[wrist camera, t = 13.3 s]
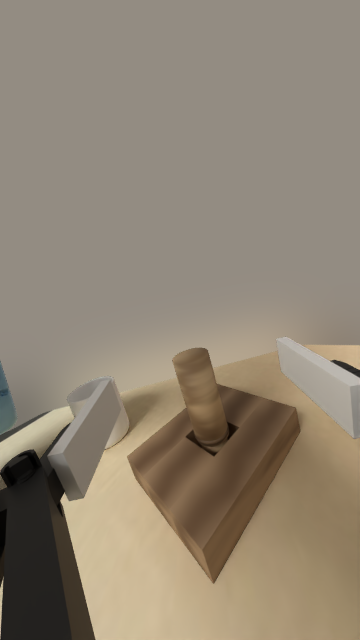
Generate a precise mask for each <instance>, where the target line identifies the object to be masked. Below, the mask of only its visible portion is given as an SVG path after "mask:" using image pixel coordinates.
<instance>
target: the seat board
mask: <svg viewBox="0 0 360 640" xmlns="http://www.w3.org/2000/svg"><path fill="white" fill-rule="evenodd" d="M217 387H218V391H219V395H220V398H221V402H222V406H223V410H224V414H225V417H226V421H227V424H228V427H229V435H228V437H227V439H228V441H227V443H226V444H225V445H224V446H223V447H222V448H221V449H220V451H219V452H218V453H217V454H216V455H215V456H212V455H211V454H209V453H208V452H206V451H205V450H203V449H202V445H201V444H199V443H198V441H197V440H196V438H195V435H194V430H193V427H192V424H191V420H190V417H189V414H188V411H187V408H185V409H184V410H183V411H182V412H181V413H179V414H178V415H177V416H176V417H175V418H173V419H172V420H171V421H170V422H168V423H167V424H166V425H165V426H164V427H162V428H161V429H160V430H159V431H158V432H156V433H155V434H154V435H153V436H151V437H150V438H149V439H148V440H147V441H145V442H144V443H143V444H142V445H141V446H139V447H138V448H137V449H136V450H134V451H133V452H132V453H131V454H130V455H128V456H127V458H128V460H129V463H130V466H131V468H132V471H133V473H134V476H135V478H136V480H137V481H138V483H139V484H140V485H141V487H142V488H143V489H144V491H145V492H146V493H147V495H148V496H149V497H150V499H151V500H152V502H153V503H154V504H155V506H156V507H157V508H158V510H159V511H160V512H161V514H162V515H163V516H164V518H165V519H166V520H167V522H168V523H169V524H170V526H171V527H172V528H173V530H174V531H175V532H176V534H177V535H178V536H179V538H180V539H181V540H182V542H183V543H184V545H185V546H186V547H187V549H188V550H189V551H190V553H191V554H192V555H193V557H194V558H195V559H196V561H197V562H198V563H199V565H200V566H201V567H202V569H203V570H204V571H205V573H206V574H207V575H208V577H209V578H210V579H211V581H212V582H213V584H214V582H215V580H216V578H217V577H218V575H219V573H220V571H221V570H222V568H223V566H224V564H225V563H226V561H227V559H228V557H229V556H230V554H231V552H232V550H233V549H234V547H235V545H236V543H237V542H238V540H239V538H240V536H241V534H242V533H243V531H244V529H245V527H246V526H247V524H248V522H249V520H250V519H251V517H252V515H253V513H254V512H255V510H256V508H257V506H258V505H259V503H260V501H261V499H262V498H263V496H264V494H265V492H266V491H267V489H268V487H269V485H270V484H271V482H272V480H273V478H274V476H275V475H276V473H277V471H278V469H279V468H280V466H281V464H282V462H283V461H284V459H285V457H286V455H287V454H288V452H289V450H290V448H291V447H292V445H293V443H294V441H295V440H296V438H297V436H298V434H299V433H300V428H299V422H298V417H297V411H296V408H295V407H291V406H288V405H285V404H282V403H278V402H275V401H272V400H268V399H265V398H262V397H258V396H255V395H252V394H248V393H245V392H242V391H238V390H235V389H232V388H228V387H225V386H222V385H219V384H217Z"/></svg>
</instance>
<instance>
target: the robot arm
mask: <svg viewBox="0 0 360 640" xmlns="http://www.w3.org/2000/svg"><path fill="white" fill-rule="evenodd" d="M276 343H277V349H278V356H279V362H280V368H281V372H282V373H283V374H284V375H285V376H287V377H288V378H289V379H290V380H291V381H292V382H293V383H294V384H295V385H296V386H297V387H298V388H300V389H301V390H302V391H303V392H304V393H305V394H306V395H307V396H308V397H309V398H310V399H311V400H312V401H314V402H315V403H316V404H317V405H318V406H319V407H320V408H321V409H322V410H323V411H324V412H325V413H327V414H328V415H329V416H330V417H331V418H332V419H333V420H334V421H335V422H336V423H337V424H338V425H339V426H341V427H342V428H343V429H344V430H345V431H346V432H347V433H348V434H349V435H350V436H351V437H352V438H354V439H356V438H360V370H358V369H356V368H354V367H352V366H351V365H349V364H347V363H344V362H341V361H337V360H332V361H329V360H327V359H325V358H323V357H322V356H320V355H318V354H316V353H314V352H313V351H311V350H309V349H307V348H306V347H304V346H302V345H300V344H298V343H297V342H295V341H293V340H291V339H289V338H288V337H282V338H278V339H276ZM120 411H121V407H120V404H119V401H118V399H117V396H116V393H115V390H114V388H113V385H112V382H111V380H106V381H102V382H100V384H99V385H98V387H97V388H96V389H95V391H94V392H93V394H92V395H91V396H90V398H89V399H88V400H87V402H86V403H85V405H84V406H83V407H82V409H81V410H80V412H79V413H78V414H77V416H76V417H75V418H74V420H73V421H72V423H69V424H68V425H67V426H66V427H65V428H64V429H62V430H61V432H60V433H59V434H58V436H57V437H56V439H55V440H54V441H53V442H52V445H50V446H49V448H48V449H47V450H46V452H45V453H44V454H43V456H42V457H41V458H40V460H39V458H38V456H37V454H36V452H35V451H34V450H27V451H24V452H22V453H20V454H18V455H17V456H15V457H14V458H12V459H11V460H10V461H9V462H8V463H7V464H6V465H5V466H4V467H3V468H2V470H1V472H0V475H1V476H2V478H3V480H4V482H5V484H6V485H7V488H5V489H3V490H0V587H1V583H2V580H3V599H2V619H1V639H0V640H95V636H94V632H93V628H92V624H91V620H90V616H89V612H88V608H87V603H86V599H85V595H84V591H83V587H82V583H81V579H80V575H79V571H78V567H77V563H76V559H75V554H74V550H73V546H72V542H71V538H70V534H69V530H68V526H67V522H66V518H65V514H64V510H63V506H62V504H61V502H60V500H61V498H62V496H63V494H64V492H65V494H66V496H67V498H68V500H69V501H72V500H77V499H81V498H84V496H85V494H86V492H87V489H88V487H89V485H90V482H91V480H92V478H93V475H94V473H95V470H96V468H97V466H98V463H99V461H100V459H101V456H102V454H103V451H104V449H105V447H106V444H107V442H108V440H109V437H110V435H111V433H112V430H113V428H114V425H115V423H116V421H117V418H118V416H119V414H120ZM16 421H17V413H16V409H15V406H14V403H13V399H12V396H11V393H10V390H9V386H8V384H7V380H6V377H5V374H4V371H3V368H2V365H1V362H0V435H1V434H2V433H4V432H6V431H7V430H9V429H10V428H12V427H13V426H14V425H15V423H16ZM3 576H4V579H3Z"/></svg>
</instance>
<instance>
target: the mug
mask: <svg viewBox="0 0 360 640" xmlns="http://www.w3.org/2000/svg"><path fill="white" fill-rule="evenodd" d="M106 380H111V382H112V385H113V388H114V390H115V393H116V396H117V399H118V401H119V404H120V407H121V411H120V414H119V416H118V418H117V421H116V423H115V425H114V428H113V430H112V433H111V435H110V437H109V440H108V442H107V444H106V447H105V449H108V448H110V447H112V446H113V445H115V444H116V443H118V442H119V441H120V440H121V439H122V438H123V437H124V436H125V434H126V433H127V431H128V429H129V419H128V416H127V413H126V411H125V408H124V405H123V403H122V400H121V397H120V394H119V392H118V389H117V386H116V384H115V381H114V379H113V377H111V376H104V377H99V378H96V379H93V380H91V381H88V382H86V383H85V384H83V385H81V386H79V387H78V388H76V389H75V390H74V391H72V392H71V393H70V394H69V396H68V398H67V401H68V403H69V406H70V408H71V411H72V413H73V415H74V417H76V416H77V414H78V413H79V412H80V410H81V409H82V407H83V406H84V405H85V403H86V402H87V400H88V399H89V398H90V396H91V395H92V394H93V392H94V391H95V389H96V388H97V387H98V385H99V384H100V382H102V381H106ZM105 449H104V450H105Z"/></svg>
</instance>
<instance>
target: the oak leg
mask: <svg viewBox="0 0 360 640" xmlns="http://www.w3.org/2000/svg"><path fill="white" fill-rule="evenodd" d="M172 361H173V365H174V368H175V371H176V374H177V378H178V381H179V384H180V388H181V391H182V394H183V397H184V401H185V404H186V407H187V411H188V414H189V417H190V420H191V424H192V427H193V430H194V435H195V438H196V440H197V441H198V443H199V444H201V445H202V448H203V450H205V451H206V452H208V453H209V454H211V455H212V456H215V455H216V454H217V453H218V452H219V451H220V449H221V448H222V447H223V446H224V445H225V444H226V443H227V441H228V439H227V437H228V435H229V427H228V424H227V421H226V417H225V414H224V410H223V406H222V402H221V398H220V395H219V391H218V387H217V383H216V380H215V376H214V372H213V368H212V365H211V361H210V357H209V353H208V350H207V349H205V348H193V349H189V350H186V351H183V352H181V353H179V354H177V355H176V356H175V357H174V358H173V360H172Z"/></svg>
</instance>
